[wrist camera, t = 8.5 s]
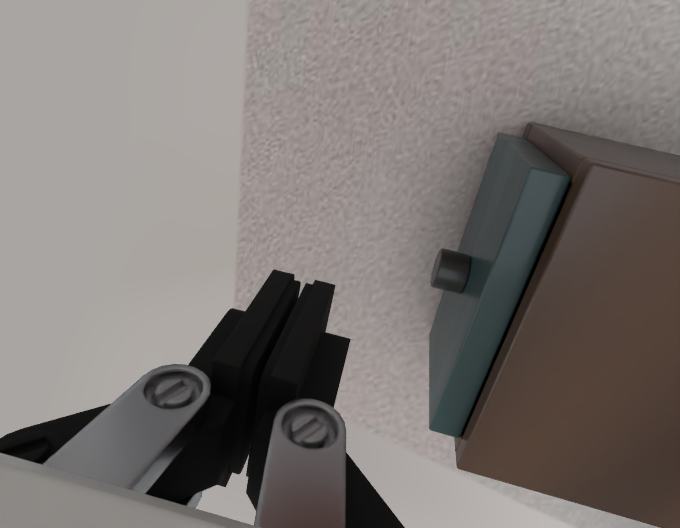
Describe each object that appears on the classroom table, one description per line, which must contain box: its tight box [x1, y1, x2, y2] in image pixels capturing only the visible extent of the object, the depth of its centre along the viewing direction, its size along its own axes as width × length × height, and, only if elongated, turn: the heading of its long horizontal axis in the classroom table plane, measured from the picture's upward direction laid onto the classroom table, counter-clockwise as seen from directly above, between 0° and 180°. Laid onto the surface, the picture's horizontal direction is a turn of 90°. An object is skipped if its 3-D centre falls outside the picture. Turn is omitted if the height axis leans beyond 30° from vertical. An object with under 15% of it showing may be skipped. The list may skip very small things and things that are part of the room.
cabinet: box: [454, 122, 680, 528], centre depth 18 cm, size 14×12×9 cm
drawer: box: [429, 133, 573, 438], centre depth 18 cm, size 14×10×7 cm
